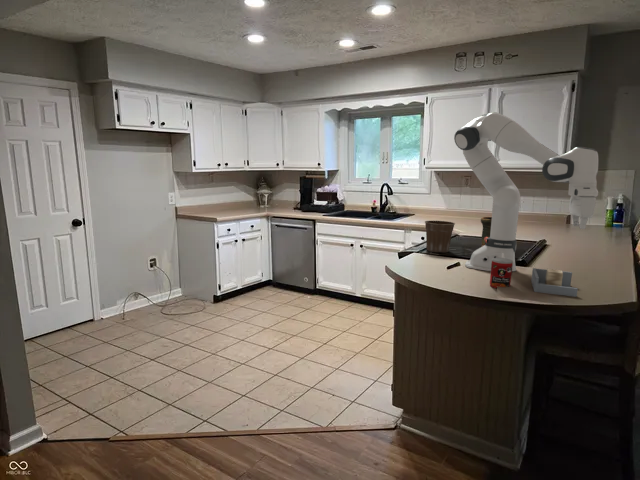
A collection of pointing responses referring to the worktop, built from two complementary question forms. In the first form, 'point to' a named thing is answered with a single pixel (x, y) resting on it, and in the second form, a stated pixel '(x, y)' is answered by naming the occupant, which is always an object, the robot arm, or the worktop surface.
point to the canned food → (501, 272)
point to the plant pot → (438, 235)
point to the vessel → (486, 228)
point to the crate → (540, 285)
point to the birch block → (554, 277)
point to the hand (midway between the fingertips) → (578, 227)
